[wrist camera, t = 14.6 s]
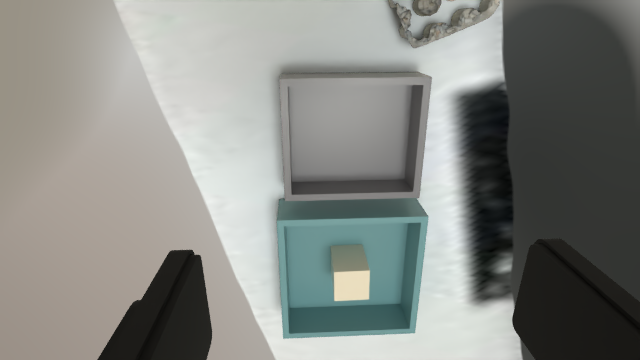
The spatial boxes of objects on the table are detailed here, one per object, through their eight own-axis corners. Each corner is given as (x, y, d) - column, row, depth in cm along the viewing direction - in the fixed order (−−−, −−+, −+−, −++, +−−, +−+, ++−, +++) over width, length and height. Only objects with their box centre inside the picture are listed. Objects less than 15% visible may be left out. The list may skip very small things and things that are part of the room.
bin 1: (281, 73, 43) (279, 78, 39) (418, 71, 44) (431, 77, 39) (286, 184, 49) (284, 201, 44) (408, 181, 49) (419, 197, 45)
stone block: (330, 245, 51) (334, 272, 46) (362, 244, 51) (369, 270, 46) (330, 272, 53) (334, 301, 47) (361, 270, 53) (368, 299, 47)
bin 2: (279, 199, 49) (276, 220, 44) (414, 195, 50) (428, 216, 44) (285, 307, 56) (283, 338, 50) (403, 303, 57) (414, 333, 51)
